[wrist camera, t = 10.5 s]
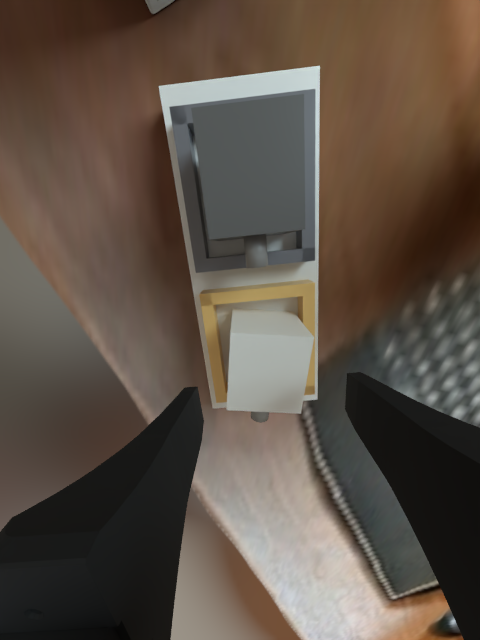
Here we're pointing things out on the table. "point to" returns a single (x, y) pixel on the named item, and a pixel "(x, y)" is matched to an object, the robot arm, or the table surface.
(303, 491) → the table surface
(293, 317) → the plug
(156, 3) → the small box
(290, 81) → the white base platform
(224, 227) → the twin plug
